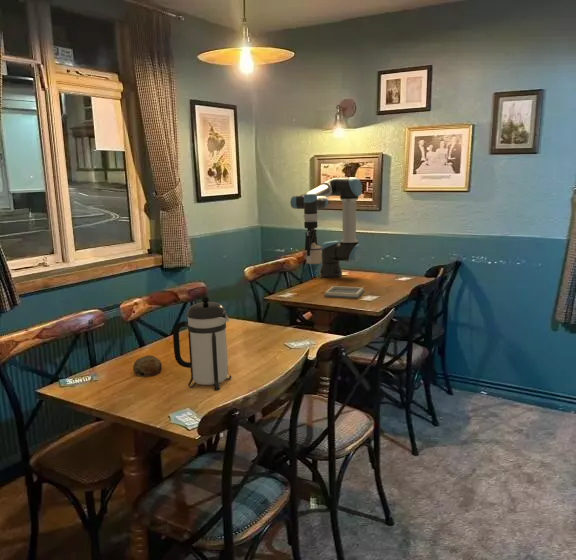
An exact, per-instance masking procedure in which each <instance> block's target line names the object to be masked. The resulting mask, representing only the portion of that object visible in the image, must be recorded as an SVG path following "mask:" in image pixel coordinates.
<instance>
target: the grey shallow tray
mask: <svg viewBox="0 0 576 560" xmlns="http://www.w3.org/2000/svg"><path fill="white" fill-rule="evenodd" d="M364 293H365V290H364V287H363V286H362V287H357V286H356V287H355V286H339V285H332V286H331V287H330V288H328V289H327V290H326V291H325V292H324V296H323V297H325V298H338V299H339V298H341V299H359V298H360V297H361V296H362V295H363V294H364ZM361 294H362V295H361Z"/></svg>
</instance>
